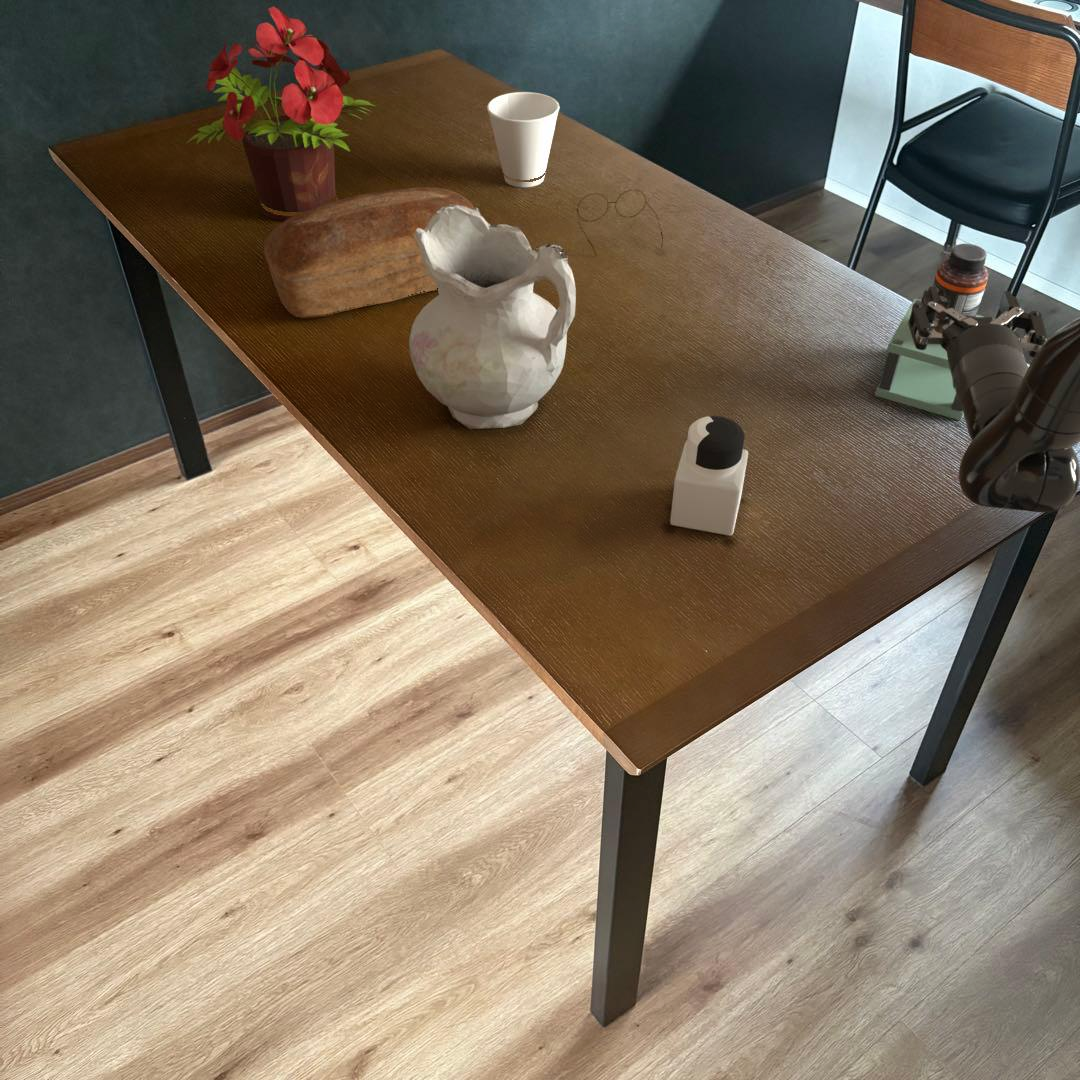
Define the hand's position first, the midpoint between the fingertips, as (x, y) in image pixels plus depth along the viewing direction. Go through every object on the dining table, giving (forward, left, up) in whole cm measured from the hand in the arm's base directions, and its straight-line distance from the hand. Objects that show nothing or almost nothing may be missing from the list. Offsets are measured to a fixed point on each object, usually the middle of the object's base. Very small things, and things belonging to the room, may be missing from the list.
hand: (967, 295), depth 128 cm
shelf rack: (+1, -3, -15) cm, 16 cm away
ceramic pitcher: (+48, +27, -16) cm, 58 cm away
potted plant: (+106, -6, -16) cm, 107 cm away
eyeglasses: (+54, -20, -16) cm, 60 cm away
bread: (+78, +12, -16) cm, 81 cm away
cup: (+77, -29, -16) cm, 84 cm away
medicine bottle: (+17, +34, -16) cm, 41 cm away
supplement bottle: (+2, -3, -8) cm, 9 cm away
